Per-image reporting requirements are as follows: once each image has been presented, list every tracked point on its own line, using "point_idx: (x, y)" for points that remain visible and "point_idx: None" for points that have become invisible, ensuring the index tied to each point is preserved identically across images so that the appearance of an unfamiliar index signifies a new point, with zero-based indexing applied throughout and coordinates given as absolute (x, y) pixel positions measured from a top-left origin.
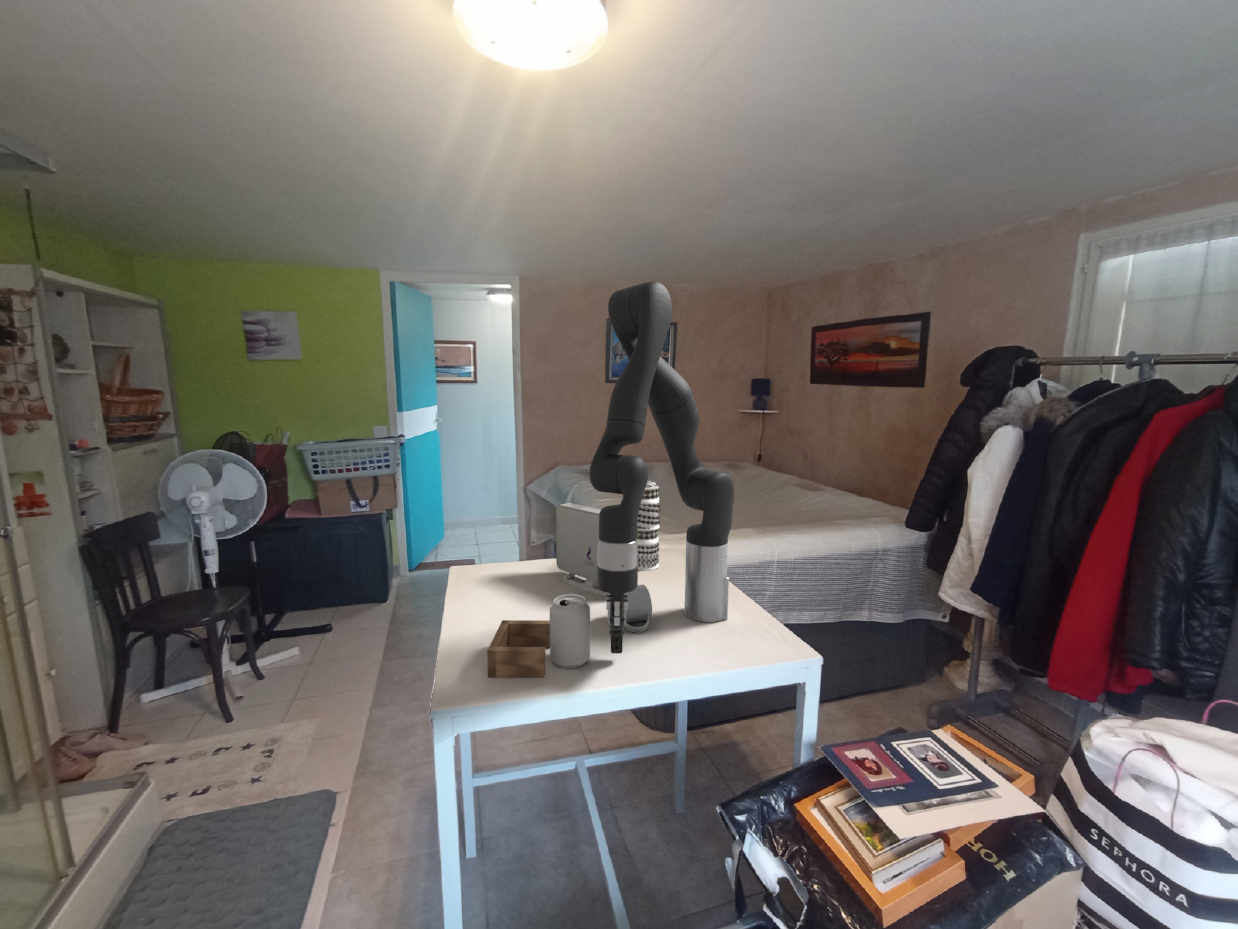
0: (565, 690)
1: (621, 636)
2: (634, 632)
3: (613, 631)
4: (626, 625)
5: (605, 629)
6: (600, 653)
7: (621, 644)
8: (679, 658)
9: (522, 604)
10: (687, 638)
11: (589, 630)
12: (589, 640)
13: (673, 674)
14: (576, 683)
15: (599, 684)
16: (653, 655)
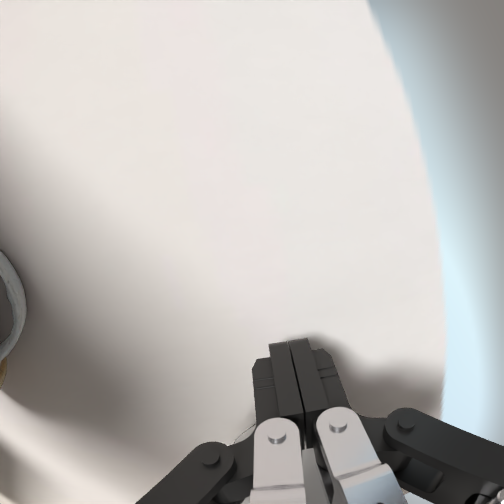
0: (438, 397)
1: (327, 403)
2: (22, 287)
3: (411, 459)
4: (19, 335)
5: (52, 382)
6: (232, 385)
7: (317, 368)
8: (216, 31)
9: (59, 496)
10: (11, 40)
11: (317, 501)
12: (309, 465)
13: (382, 69)
14: (416, 390)
15: (434, 341)
16: (204, 170)
